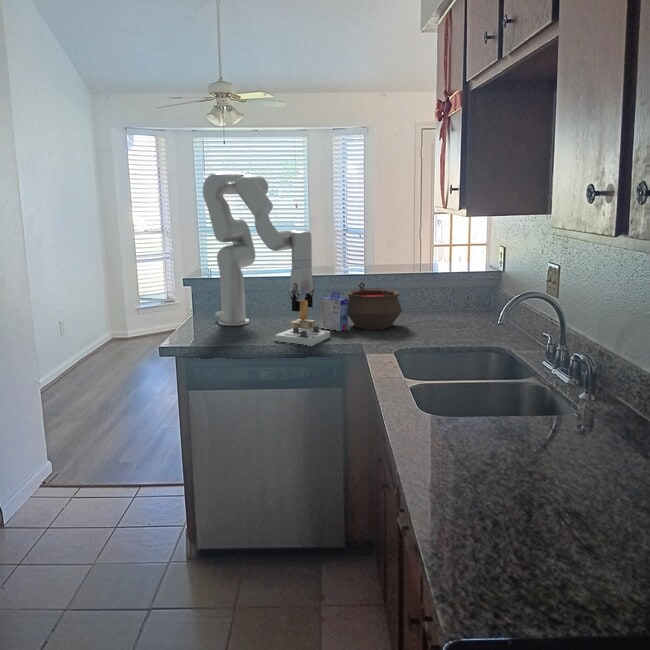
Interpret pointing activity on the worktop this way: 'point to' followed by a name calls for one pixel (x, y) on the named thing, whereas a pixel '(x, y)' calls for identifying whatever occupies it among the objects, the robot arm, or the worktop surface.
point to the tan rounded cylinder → (303, 310)
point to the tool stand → (302, 324)
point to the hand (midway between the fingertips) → (302, 309)
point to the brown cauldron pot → (373, 307)
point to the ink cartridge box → (334, 313)
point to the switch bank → (294, 338)
